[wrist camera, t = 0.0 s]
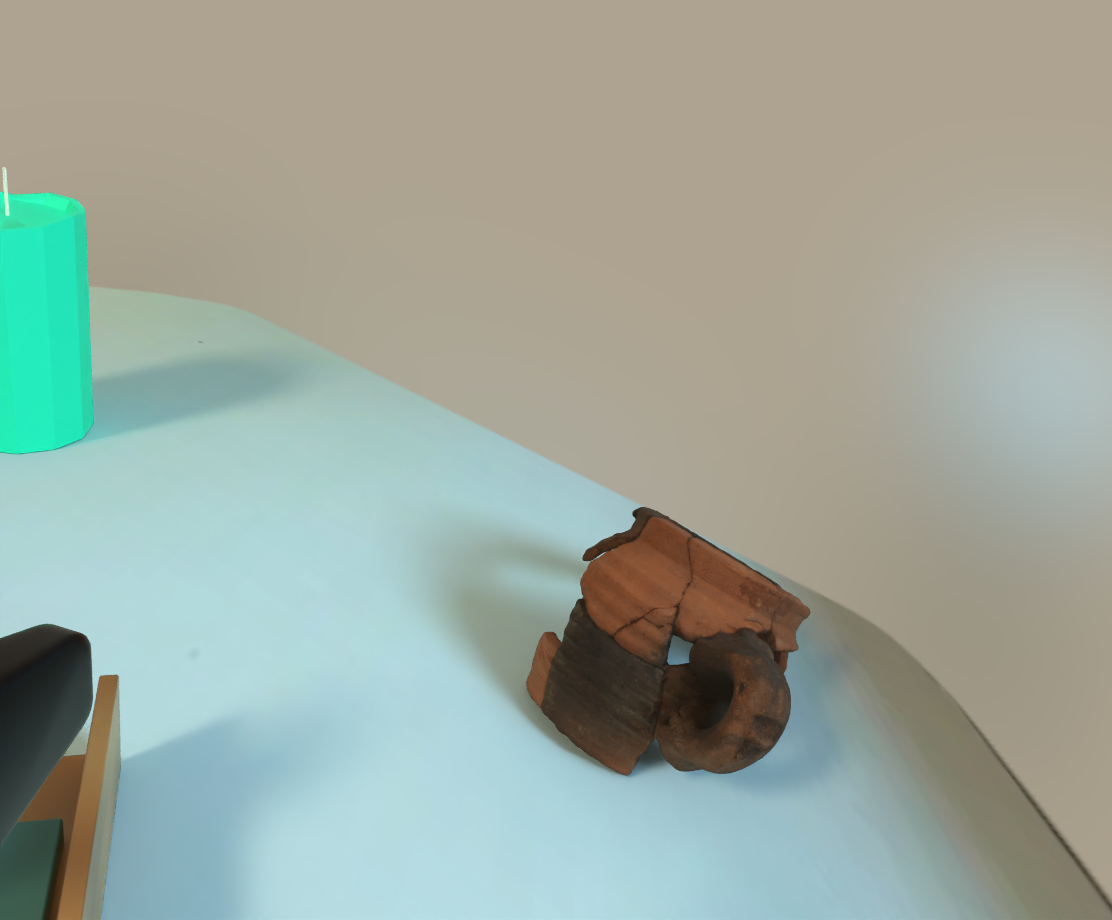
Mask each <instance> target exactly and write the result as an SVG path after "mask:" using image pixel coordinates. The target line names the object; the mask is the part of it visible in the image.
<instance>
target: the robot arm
mask: <svg viewBox="0 0 1112 920" xmlns="http://www.w3.org/2000/svg"><path fill="white" fill-rule="evenodd" d="M92 702H93V684H92V660H91V645H90V642H89V640H88V638H87V637H86V636H85V635H83V634H82V633H79V632H76V631H73V630H69V629H66V628H63V627H60V626H56V625H53V624H42V625H38V626H35V627H32V628H29V629H26V630H23V631H20V632H17V633H14V634H11V635H9V636H6V637H3V638H0V846H1V845H2V843H3V842H4V841H5V839H6V838H7V836H8V835H9V833H10V832H11V830H12V829H13V827H14V826H15V825H16V823H17V822H18V820H19V819H20V817H21V816H22V814H23V813H24V811H25V810H26V809H27V807H28V806H29V804H30V803H31V801H32V800H33V798H34V797H35V796H36V794H37V793H38V791H39V790H40V788H41V787H42V785H43V784H44V782H45V781H46V780H47V778H48V777H49V775H50V774H51V772H52V771H53V769H54V768H55V766H56V765H57V764H58V762H59V761H60V759H61V758H62V756H63V755H64V753H65V752H66V750H67V749H68V748H69V746H70V745H71V743H72V742H73V740H74V739H75V737H76V736H77V734H78V733H79V732H80V730H81V729H82V727H83V726H84V724H85V722H86V720H87V718H88V716H89V714H90V711H91V707H92Z"/></svg>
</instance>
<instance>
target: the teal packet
mask: <svg viewBox="0 0 1112 920" xmlns="http://www.w3.org/2000/svg"><path fill="white" fill-rule="evenodd" d="M63 841H64V830H63V820H62V819H60V818H58V819H47V820H36V821H25V822H17V823H16V825H15V826H14V827H13V829H12V830H11V832H10V833H9V835H8V836H7V838H6V839H5V841H4V842H3V843H2V845H1V846H0V920H49V917H50V912H51V906H52V901H53V895H54V890H55V884H56V879H57V873H58V868H59V863H60V857H61V852H62V846H63Z"/></svg>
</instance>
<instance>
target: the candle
mask: <svg viewBox="0 0 1112 920" xmlns="http://www.w3.org/2000/svg"><path fill="white" fill-rule="evenodd" d="M2 173H3V186H4V192H0V452H5V453H15V454H20V453H28V452H36V451H45V450H53V449H57V448H60V447H62V446H65V445H67V444H70V443H72V442H75V441H77V440H79V439H82V438H84V436H85V435H86V433H87V432H88V431H89V429H90V428H91V426H92V425H93V396H92V369H91V341H90V314H89V286H88V261H87V260H88V259H87V233H86V211H85V210H84V208H83V207H82V206H81V204H80V203H79V202H78V201H77V200H76V199H72V198H68V197H65V196H61V195H57V194H54V193H34V194H15V195H14V194H9V193H8V187H7V173H6V168H5V167H2Z"/></svg>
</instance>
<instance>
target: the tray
mask: <svg viewBox="0 0 1112 920" xmlns="http://www.w3.org/2000/svg"><path fill="white" fill-rule="evenodd" d="M120 768H121V754H120V710H119V676H118V675H103V676H100V677H99V682H98V688H97V693H96V699H95V705H94V710H93V716H92V722H91V728H90V733H89V739H88V745H87V750H86V755H73V756H62V758H61V759H60V761H59V762H58V764H57V765H56V766H55V768H54V769H53V771H52V772H51V774H50V775H49V777H48V778H47V780H46V781H45V782H44V784H43V785H42V787H41V788H40V790H39V791H38V793H37V794H36V796H35V797H34V798H33V800H32V801H31V803H30V804H29V806H28V807H27V809H26V810H25V811H24V813H23V814H22V816H21V817H20V819H19V820H18V822H25V821H36V820H47V819H58V818H60V819H62V820H63V830H64V841H63V846H62V852H61V857H60V863H59V868H58V873H57V879H56V884H55V890H54V895H53V901H52V906H51V912H50V917H49V920H101V912H102V905H103V897H104V890H105V882H106V874H107V867H108V859H109V852H110V844H111V836H112V829H113V821H114V814H115V806H116V798H117V791H118V783H119V776H120Z"/></svg>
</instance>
